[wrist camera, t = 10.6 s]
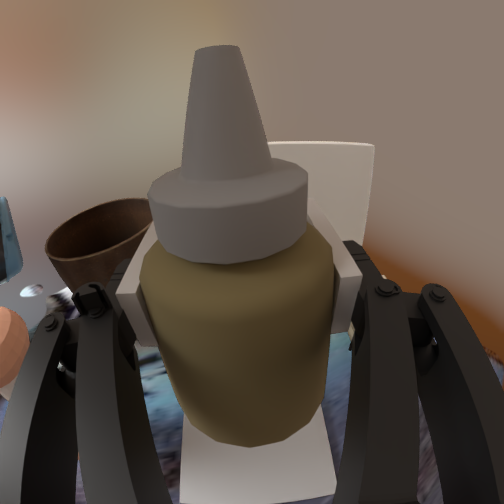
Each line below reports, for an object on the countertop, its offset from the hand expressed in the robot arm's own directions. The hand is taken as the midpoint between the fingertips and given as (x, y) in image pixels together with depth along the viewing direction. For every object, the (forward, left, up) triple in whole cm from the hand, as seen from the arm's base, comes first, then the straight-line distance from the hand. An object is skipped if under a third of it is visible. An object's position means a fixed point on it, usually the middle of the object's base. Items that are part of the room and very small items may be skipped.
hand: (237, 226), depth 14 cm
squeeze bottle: (0, -5, -10) cm, 11 cm away
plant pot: (-16, +13, -21) cm, 30 cm away
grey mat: (0, -5, -21) cm, 21 cm away
